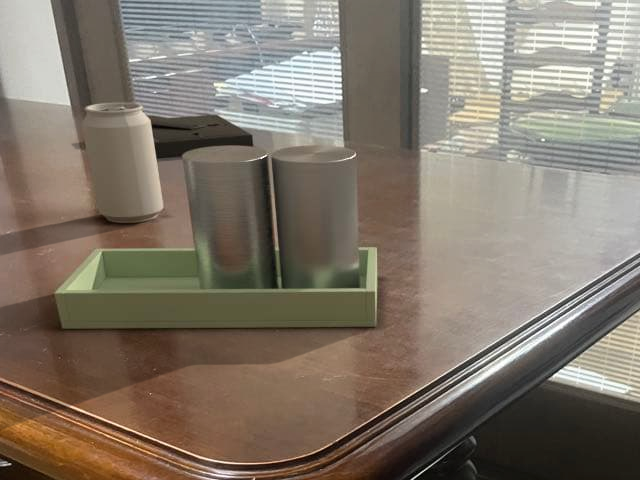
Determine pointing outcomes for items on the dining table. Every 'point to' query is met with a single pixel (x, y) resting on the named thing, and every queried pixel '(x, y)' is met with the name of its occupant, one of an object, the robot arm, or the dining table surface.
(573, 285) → the dining table surface
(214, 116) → the picture frame
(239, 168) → the can
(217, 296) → the tray
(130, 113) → the can
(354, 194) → the can
